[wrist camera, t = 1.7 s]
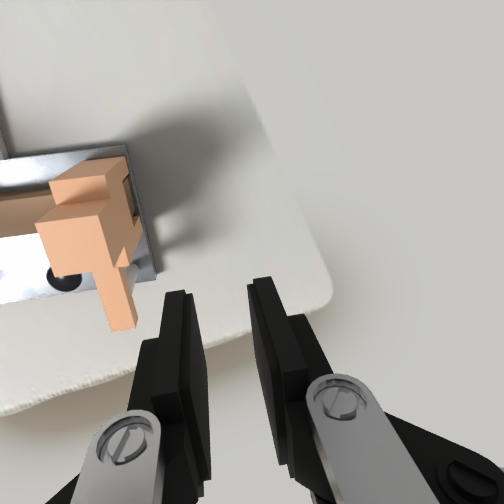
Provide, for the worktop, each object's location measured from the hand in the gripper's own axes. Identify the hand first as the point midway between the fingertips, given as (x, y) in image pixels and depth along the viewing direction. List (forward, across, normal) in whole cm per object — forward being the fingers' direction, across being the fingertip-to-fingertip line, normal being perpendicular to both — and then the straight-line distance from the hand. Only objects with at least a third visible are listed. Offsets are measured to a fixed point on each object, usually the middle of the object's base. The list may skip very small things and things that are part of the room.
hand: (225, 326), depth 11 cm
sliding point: (+18, +7, +2) cm, 19 cm away
